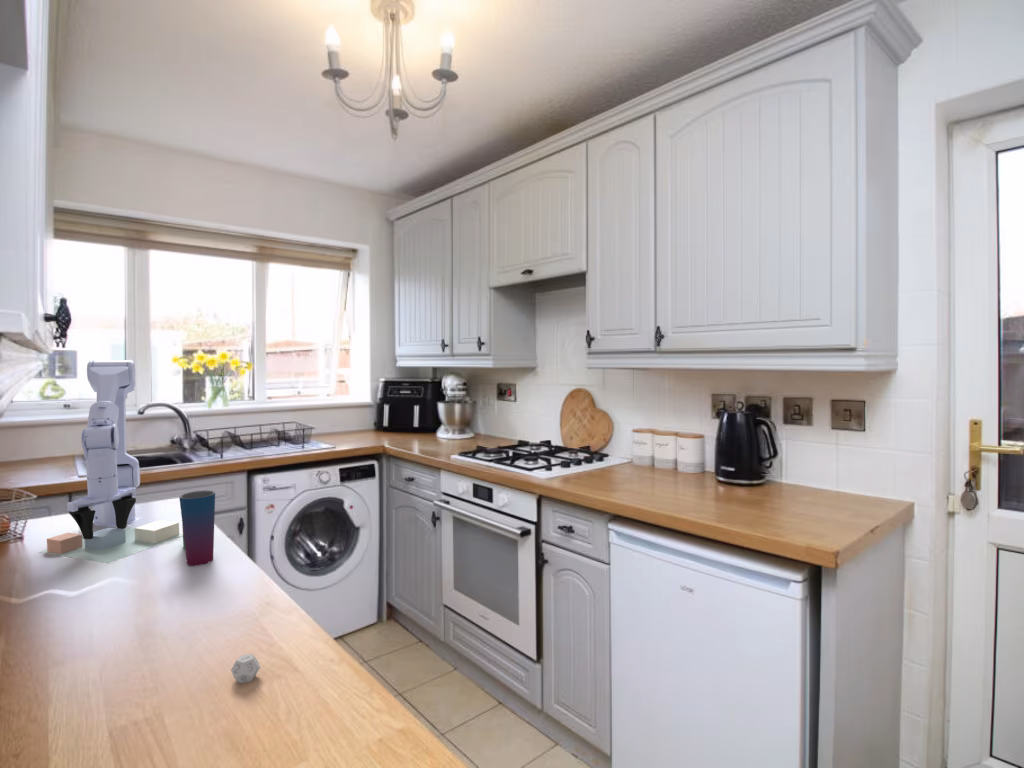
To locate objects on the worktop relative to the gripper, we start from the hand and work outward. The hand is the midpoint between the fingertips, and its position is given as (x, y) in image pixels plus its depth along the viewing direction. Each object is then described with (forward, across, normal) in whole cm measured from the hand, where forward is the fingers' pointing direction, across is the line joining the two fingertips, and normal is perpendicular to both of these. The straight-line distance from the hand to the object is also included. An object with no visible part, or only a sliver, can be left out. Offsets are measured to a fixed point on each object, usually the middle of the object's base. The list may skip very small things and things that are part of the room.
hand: (105, 533), depth 127 cm
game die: (+4, -31, -72) cm, 78 cm away
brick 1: (+3, -5, +6) cm, 8 cm away
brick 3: (+3, +8, -7) cm, 11 cm away
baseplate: (+3, +2, -1) cm, 4 cm away
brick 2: (+3, 0, 0) cm, 3 cm away
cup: (+4, 0, -29) cm, 29 cm away
